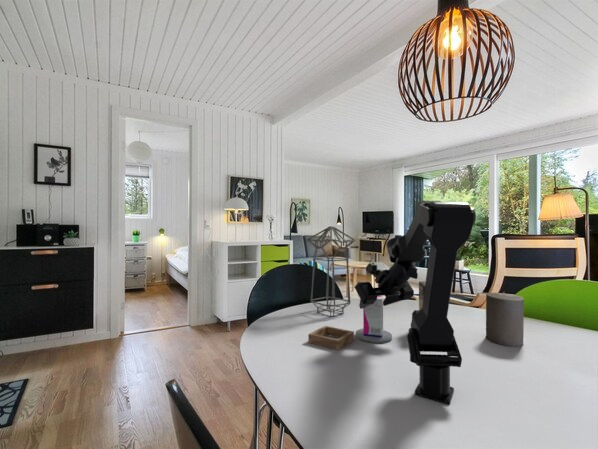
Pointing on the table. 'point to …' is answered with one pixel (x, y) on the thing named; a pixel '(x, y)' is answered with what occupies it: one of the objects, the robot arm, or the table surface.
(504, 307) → the pillar candle
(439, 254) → the robot arm
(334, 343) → the wooden tray
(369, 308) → the supplement box
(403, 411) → the table surface
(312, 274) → the geometric lantern
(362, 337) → the slate pad
